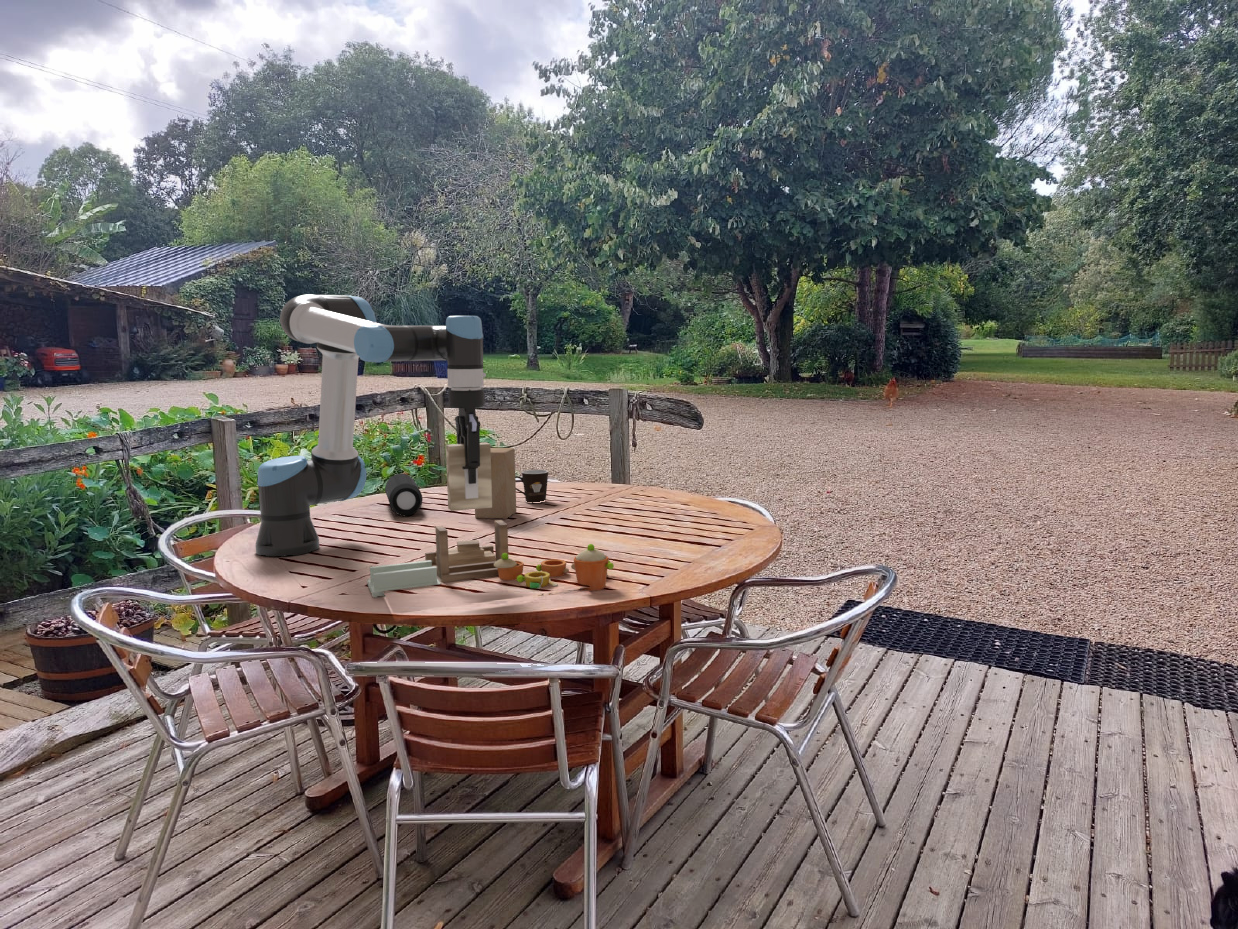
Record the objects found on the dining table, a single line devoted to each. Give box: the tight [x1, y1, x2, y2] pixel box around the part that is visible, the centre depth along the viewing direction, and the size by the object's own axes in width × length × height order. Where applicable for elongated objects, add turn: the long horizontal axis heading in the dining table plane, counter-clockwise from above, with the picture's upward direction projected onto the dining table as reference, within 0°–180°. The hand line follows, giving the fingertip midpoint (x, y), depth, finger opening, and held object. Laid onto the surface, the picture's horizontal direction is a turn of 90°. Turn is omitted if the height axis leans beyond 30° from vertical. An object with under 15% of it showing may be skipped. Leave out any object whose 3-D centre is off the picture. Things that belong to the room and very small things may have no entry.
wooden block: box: [474, 447, 517, 520], centre depth 250 cm, size 10×10×20 cm
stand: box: [366, 560, 442, 598], centre depth 179 cm, size 10×14×4 cm
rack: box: [424, 519, 510, 583], centre depth 189 cm, size 17×16×12 cm
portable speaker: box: [384, 473, 423, 517], centre depth 262 cm, size 26×10×10 cm, turn 19°
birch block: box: [445, 442, 492, 512], centre depth 181 cm, size 3×9×14 cm, turn 113°
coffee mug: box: [515, 469, 549, 502], centre depth 272 cm, size 12×9×10 cm
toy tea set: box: [494, 543, 615, 595], centre depth 180 cm, size 26×16×10 cm, turn 102°
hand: (469, 496), depth 182 cm, fingers closed on birch block, 3 cm apart
